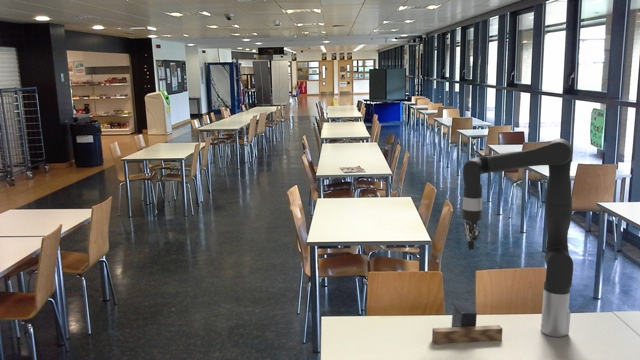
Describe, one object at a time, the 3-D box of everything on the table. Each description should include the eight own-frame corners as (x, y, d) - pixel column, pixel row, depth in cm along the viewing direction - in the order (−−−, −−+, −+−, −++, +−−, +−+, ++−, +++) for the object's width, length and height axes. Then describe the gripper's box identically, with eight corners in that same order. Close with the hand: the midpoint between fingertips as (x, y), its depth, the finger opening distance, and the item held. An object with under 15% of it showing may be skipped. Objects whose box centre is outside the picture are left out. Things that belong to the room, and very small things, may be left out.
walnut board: (498, 337, 210) (499, 325, 209) (501, 340, 207) (502, 328, 206) (432, 340, 207) (432, 328, 206) (434, 344, 204) (434, 331, 203)
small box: (476, 338, 209) (477, 312, 207) (460, 339, 208) (461, 313, 206) (466, 326, 219) (467, 301, 217) (450, 327, 219) (451, 302, 217)
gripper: (487, 211, 214) (485, 253, 217) (475, 203, 227) (473, 244, 230) (468, 212, 213) (467, 254, 217) (457, 204, 226) (456, 244, 230)
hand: (470, 249), depth 223 cm, fingers closed
